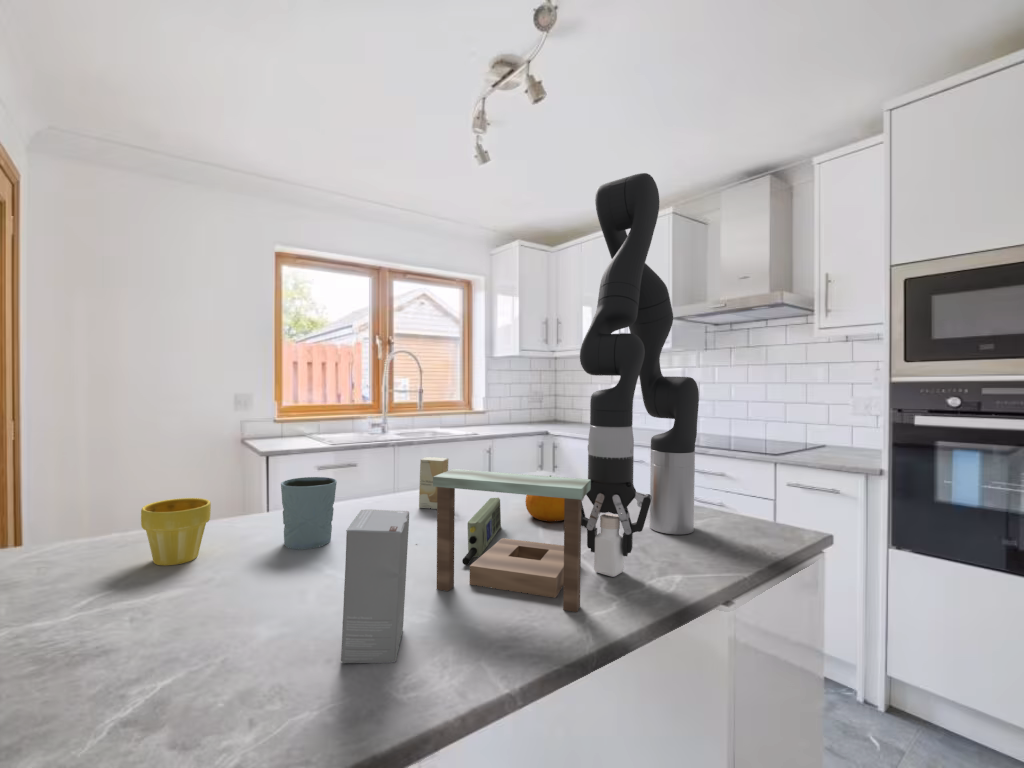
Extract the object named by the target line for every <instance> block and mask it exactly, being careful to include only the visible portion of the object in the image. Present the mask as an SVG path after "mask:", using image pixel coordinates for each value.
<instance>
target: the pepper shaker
mask: <svg viewBox="0 0 1024 768" xmlns="http://www.w3.org/2000/svg"><path fill="white" fill-rule="evenodd" d="M599 518H600V519H599V521H600V525H599V527H600V532H599V533H597V535H596V536H595V553H594V559H593V560H594V561H593V562H594V564H593V565H594V566H593V567H594V568H593V569H594V572H595V573H598V574H601V575H604V576H608V577H613V578H615V577H616V576H618V575H620V574H622V573H623V572H624V570H625V556H623V534H620V523H621V521H620V519H619V516H618V514H613V513H602V514H600V515H599Z"/></svg>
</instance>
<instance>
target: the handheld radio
mask: <svg viewBox="0 0 1024 768" xmlns="http://www.w3.org/2000/svg"><path fill="white" fill-rule="evenodd" d="M501 513H502V512H501V499H500V497H491V498H489V499H488V500H487V501H486V502H484V504H483V505H482V506H481V508H480V509H479V510H478V511H477V512H476V513H475V514H474V515H472V517H471V518H470V519H469V520H468V522H467V547H468V548H467V549H468V552H467V553H466V554H465V556H464V557H463V559H462V561H461V562H462V564H463V565H464V566H468V565H470V563H471V561H472V560H473V559H474V557H476V556H480V557H481V556H482V555H483V554H484V553H485V551H486V549H487V547H488V546H489V545H490V543H491V542H492V540H493V539H494V538H495V536H496V535H497V533H498V532H499V531H500V529H501V527H502V521H501ZM497 531H498V532H497Z"/></svg>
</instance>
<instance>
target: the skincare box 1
mask: <svg viewBox="0 0 1024 768" xmlns="http://www.w3.org/2000/svg"><path fill="white" fill-rule="evenodd" d="M409 526H410V512H409V511H408V510H386V509H361V510H360V511H359V512H358V514H357V516H356V517H355V518H354V519H353V520H352V522H351V523H350V525H349V526H348V527H347V529H346V531H345V532H346V539H345V566H344V567H345V568H344V587H343V588H344V589H343V612H342V633H341V652H340V653H341V654H340V655H341V657H340V662H341V664H377V663H379V664H382V663H383V664H384V663H388V664H389V663H395V662H396V661H397V656H398V653H399V648H400V643H401V638H402V636H403V635H402V634H403V630H404V616H405V602H406V601H405V600H406V599H405V598H406V582H407V567H408V565H407V564H408V563H407V562H408V547H409V545H408V544H409V543H408V542H409Z"/></svg>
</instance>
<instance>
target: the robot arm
mask: <svg viewBox="0 0 1024 768" xmlns="http://www.w3.org/2000/svg"><path fill="white" fill-rule="evenodd" d="M594 198H595V199H594V202H595V209H596V215H597V218H598V223H599V225H600V228H601V232H602V234H603V238H604V241H605V243H606V245H607V247H606V248H607V249H608V252H609V256H610V258H611V260H610V262H609V263H608V265H607V266H606V268H605V270H604V272H603V274H602V277H601V280H600V283H599V284H600V285H599V290H598V299H597V306H596V311H595V313H594V316H593V318H592V321H591V323H590V326H589V328H588V330H587V332H586V333H585V336H584V338H583V340H582V343H581V346H580V351H579V362H580V365H581V367H582V369H583V370H584V371H585V373H586V374H588V375H590V376H611V377H613V376H616V377H617V376H620V377H619V380H618V382H617V384H616V385H615V386H613V387H611V388H604V389H600V390H595V391H594V392H593V393H592V394H591V396H590V401H589V404H590V405H589V406H590V410H589V431H588V432H589V433H588V440H587V441H588V442H587V443H588V444H587V460H588V461H587V479H591V490H590V491H589V492H588V493H587V494H586V495H585V496H586V497H587V498H588V499H589V500H588V501H590V503H591V504H592V506H593V507H592V509H591V512H590V515H589V517H587V516H586V513H585V510H584V505H583V501H584V499H585V496H584V497H583V498H582V500H581V527H584V528H585V529H586V532H587V533H586V535H587V536H586V538H587V539H586V546H587V549H590V553H594V554H595V536H596V535H598V527H597V522H598V520H599V518H600V516H601V513H602V514H608V513H609V514H614V515H618V516H619V519H620V523H621V526H622V529H623V533H622V536H623V556H624V557H628V555H629V554H631V552H632V551H633V537H634V533H641V532H642V531H643V530H644V526H645V523H646V519H647V516H648V513H649V528H650V529H651V530H653V531H655V532H658V533H661V534H662V533H663V534H667V535H687V534H692V533H693V532H694V530H695V529H694V523H695V521H694V520H695V467H696V463H695V461H696V460H695V459H696V442H697V441H696V440H697V434H698V417H699V403H700V394H699V393H700V392H699V386H698V383H697V381H696V379H694V378H692V377H690V376H664V375H663V373H662V370H661V369H662V368H661V362H660V361H661V360H660V358H661V353H662V350H663V348H664V345H665V343H666V341H667V339H668V337H669V335H670V332H671V329H672V326H673V322H674V312H673V308H672V303H671V297H670V293H669V289H668V287H667V284H666V283H665V282H664V280H663V279H662V278H661V277H660V276H659V275H658V274H657V272H655V271H654V270H653V269H652V268H651V267H650V266H649V265H648V264H647V263H646V261H647V257H648V254H649V251H650V248H651V247H650V246H651V244H652V240H653V235H654V233H655V229H656V225H657V222H658V217H659V211H660V192H659V189H658V186H657V183H656V181H655V179H654V177H653V176H652V175H651V174H649V173H647V172H644V173H643V172H641V173H636V174H632V175H629V176H626V177H622V178H619V179H616V180H613V181H609V182H607V183H603V184H600V185H599V186H598V187H597V189H596V191H595V197H594ZM629 229H630V230H629ZM627 230H629V232H628V234H627ZM625 328H628V330H629V333H614V332H616V331H618V330H619V331H620V330H622V329H625ZM638 380H639V382H640V383H639V385H640V389H641V396H642V402H643V406H644V408H645V410H646V412H647V414H648V415H649V416H651V417H653V418H658V419H670V420H674V422H673V427H672V428H671V429H669V430H668V431H665V432H662V433H658V434H655V435H652V436H651V438H650V469H649V470H650V472H649V473H650V477H649V478H650V480H649V482H650V483H649V494H648V493H647V494H644V493H641V492H638V491H636V488H635V486H634V459H635V457H634V445H635V444H634V443H635V442H634V441H635V440H634V432H633V421H634V419H633V415H634V414H633V412H634V411H633V408H634V407H633V406H634V396H635V392H636V387H637V383H638ZM634 499H636V501H637V502H636V505H637V507H639V508H640V510H639V513H638V517H637V520H636V522H633V523H632V520H631V515H630V511H629V508H628V507H629V506H630V504H631V503H632V501H634Z"/></svg>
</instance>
